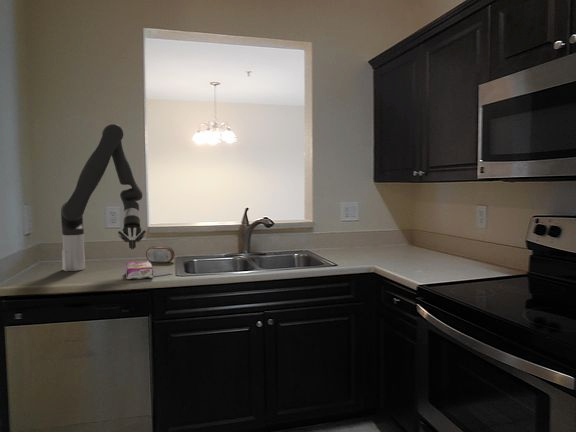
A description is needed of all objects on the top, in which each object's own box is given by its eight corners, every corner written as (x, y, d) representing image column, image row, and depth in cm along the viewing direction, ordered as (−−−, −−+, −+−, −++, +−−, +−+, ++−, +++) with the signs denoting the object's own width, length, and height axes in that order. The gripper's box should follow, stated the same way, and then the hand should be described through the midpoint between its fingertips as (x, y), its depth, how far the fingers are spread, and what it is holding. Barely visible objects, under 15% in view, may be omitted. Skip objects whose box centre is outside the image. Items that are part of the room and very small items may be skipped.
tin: (174, 262, 223) (174, 246, 223) (172, 263, 220) (172, 247, 219) (147, 261, 225) (147, 245, 224) (145, 262, 222) (145, 246, 221)
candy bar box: (150, 260, 199) (153, 266, 184) (150, 270, 199) (153, 278, 184) (125, 261, 194) (126, 268, 179) (125, 272, 195) (126, 279, 180)
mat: (135, 279, 182) (135, 278, 182) (128, 275, 189) (128, 275, 189) (172, 274, 193) (172, 273, 193) (163, 270, 200) (163, 270, 200)
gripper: (116, 214, 199) (116, 243, 188) (146, 214, 203) (147, 242, 193) (117, 224, 204) (117, 253, 194) (146, 224, 209) (147, 252, 198)
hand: (132, 248), depth 193 cm, fingers closed
